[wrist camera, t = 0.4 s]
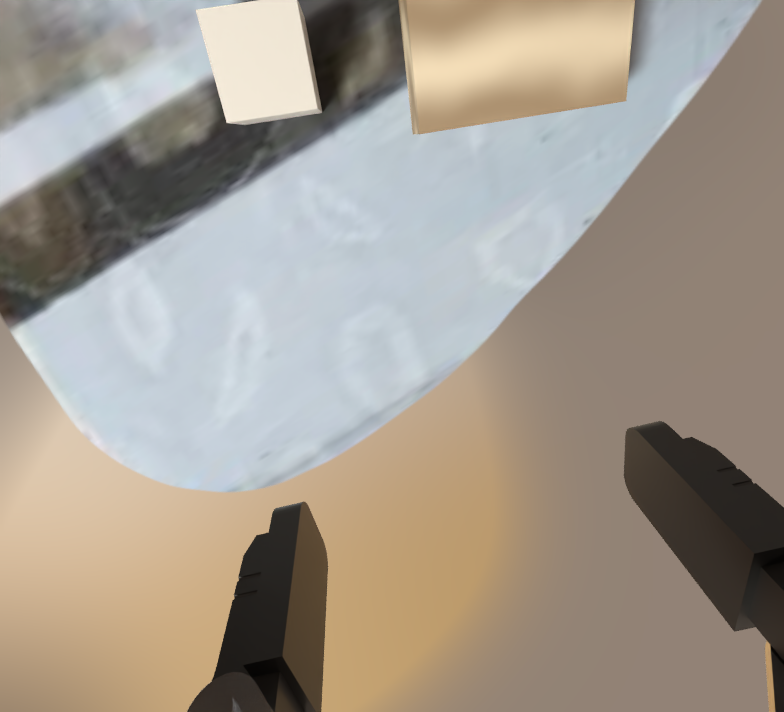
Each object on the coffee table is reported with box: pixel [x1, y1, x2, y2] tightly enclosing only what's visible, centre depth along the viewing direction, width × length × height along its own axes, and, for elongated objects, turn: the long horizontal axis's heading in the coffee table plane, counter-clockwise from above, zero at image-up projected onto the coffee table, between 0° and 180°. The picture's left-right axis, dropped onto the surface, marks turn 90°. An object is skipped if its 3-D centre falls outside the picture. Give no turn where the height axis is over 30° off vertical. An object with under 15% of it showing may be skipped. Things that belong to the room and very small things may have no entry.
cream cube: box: [196, 0, 322, 125], centre depth 28 cm, size 6×6×6 cm
